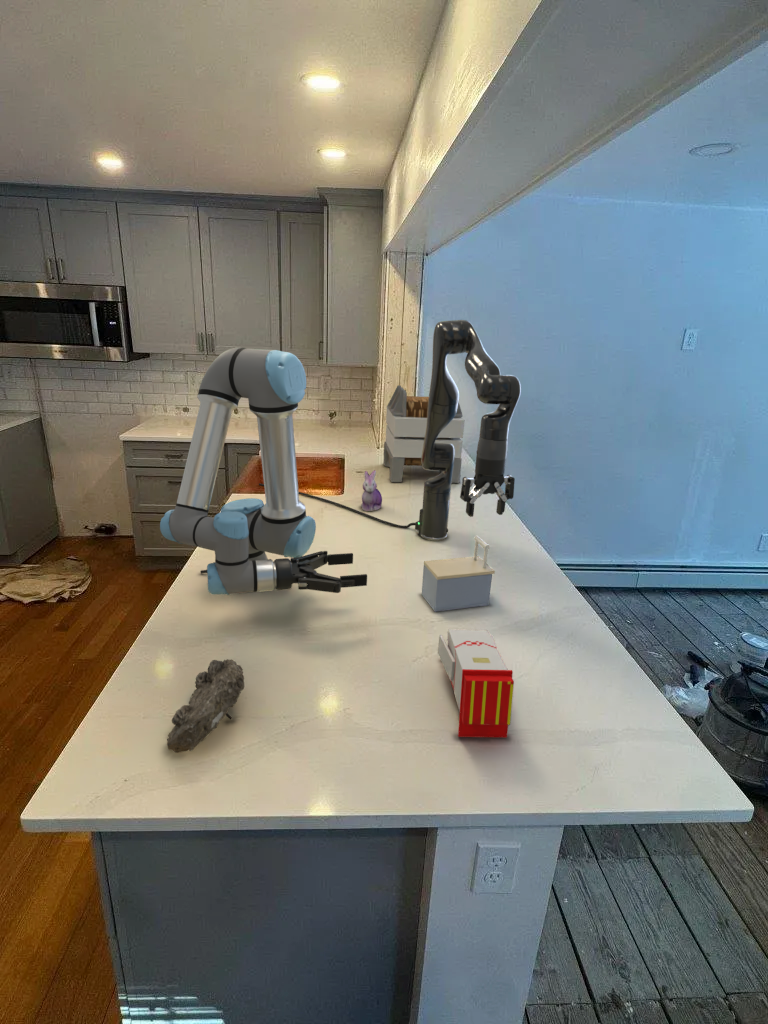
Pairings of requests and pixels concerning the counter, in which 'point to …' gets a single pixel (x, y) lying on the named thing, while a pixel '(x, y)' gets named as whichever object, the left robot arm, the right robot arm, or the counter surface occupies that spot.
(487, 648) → the toy
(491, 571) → the lid
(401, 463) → the grey crate
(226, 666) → the fossil
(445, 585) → the chest
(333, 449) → the counter surface
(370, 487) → the figurine
